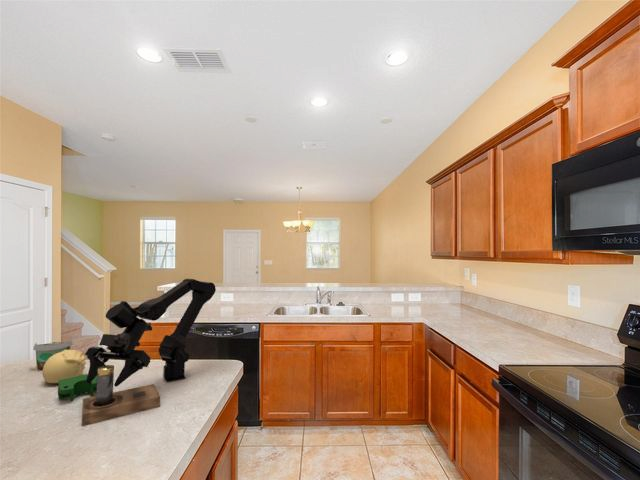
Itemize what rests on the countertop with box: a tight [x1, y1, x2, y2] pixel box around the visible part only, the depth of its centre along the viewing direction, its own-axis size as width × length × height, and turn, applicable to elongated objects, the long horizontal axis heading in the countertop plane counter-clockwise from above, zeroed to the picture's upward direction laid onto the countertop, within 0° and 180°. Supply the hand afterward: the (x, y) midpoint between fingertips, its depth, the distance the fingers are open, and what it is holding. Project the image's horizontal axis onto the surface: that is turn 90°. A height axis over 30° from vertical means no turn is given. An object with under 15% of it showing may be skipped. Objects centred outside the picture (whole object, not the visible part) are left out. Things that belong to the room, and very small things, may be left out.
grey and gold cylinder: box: [95, 364, 115, 407], centre depth 91 cm, size 4×4×13 cm
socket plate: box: [81, 383, 161, 427], centre depth 94 cm, size 19×11×3 cm, turn 127°
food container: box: [33, 339, 74, 371], centre depth 123 cm, size 12×6×10 cm, turn 118°
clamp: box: [57, 373, 97, 402], centre depth 101 cm, size 12×6×9 cm, turn 129°
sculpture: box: [42, 349, 87, 384], centre depth 113 cm, size 11×12×11 cm
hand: (101, 384), depth 90 cm, fingers open, 9 cm apart
